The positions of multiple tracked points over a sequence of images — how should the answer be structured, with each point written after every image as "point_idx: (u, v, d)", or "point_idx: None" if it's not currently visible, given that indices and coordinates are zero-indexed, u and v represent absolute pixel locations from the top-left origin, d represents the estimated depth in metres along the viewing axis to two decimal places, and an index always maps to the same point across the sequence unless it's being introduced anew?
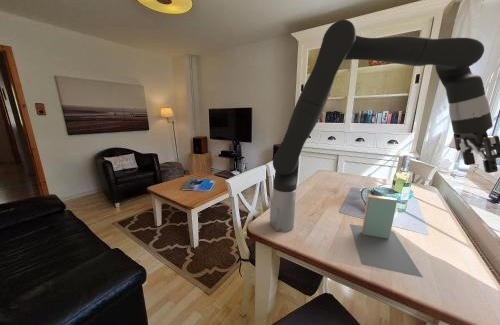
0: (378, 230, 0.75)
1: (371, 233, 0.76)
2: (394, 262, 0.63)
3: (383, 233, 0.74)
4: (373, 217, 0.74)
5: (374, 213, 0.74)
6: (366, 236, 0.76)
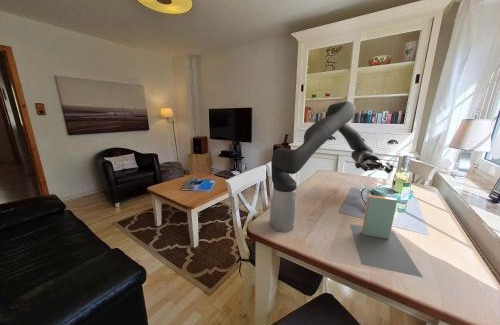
0: (378, 230, 0.75)
1: (371, 233, 0.76)
2: (394, 262, 0.63)
3: (383, 233, 0.74)
4: (373, 217, 0.74)
5: (374, 213, 0.74)
6: (366, 236, 0.76)
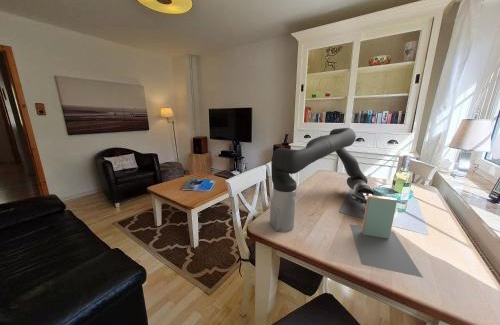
0: (378, 230, 0.75)
1: (371, 233, 0.76)
2: (394, 262, 0.63)
3: (383, 233, 0.74)
4: (373, 217, 0.74)
5: (374, 213, 0.74)
6: (366, 236, 0.76)
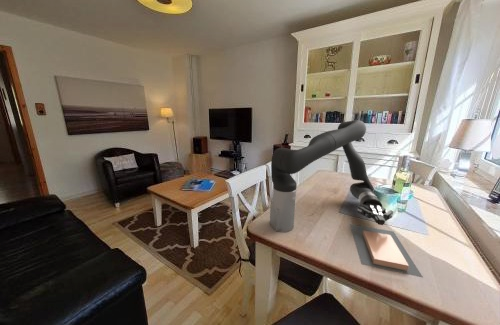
0: None
1: None
2: None
3: None
4: None
5: None
6: None
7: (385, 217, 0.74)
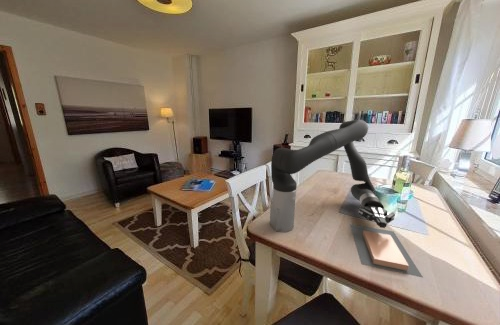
0: None
1: None
2: None
3: None
4: None
5: None
6: None
7: (387, 219, 0.72)
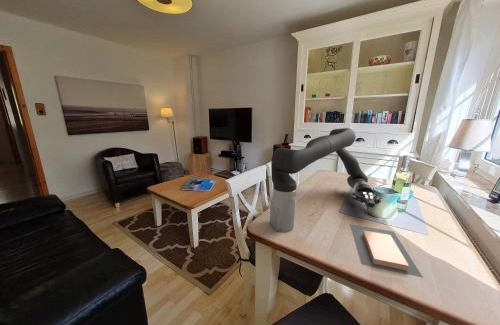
0: None
1: None
2: None
3: None
4: None
5: None
6: None
7: (375, 201, 0.87)
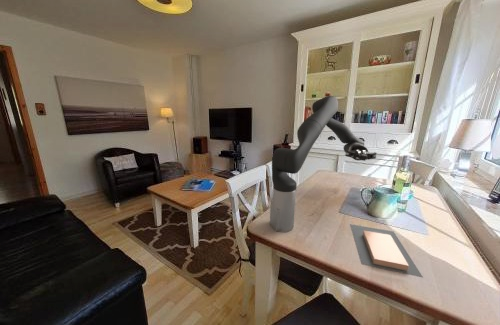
0: None
1: None
2: None
3: None
4: None
5: None
6: None
7: (368, 156, 0.84)
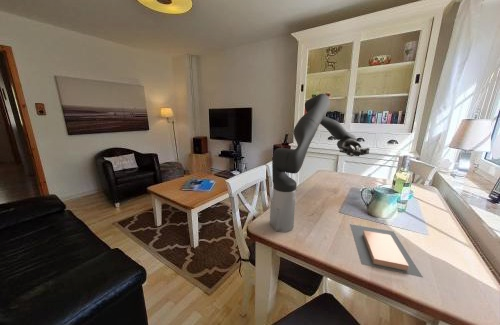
0: None
1: None
2: None
3: None
4: None
5: None
6: None
7: (362, 151, 0.86)
